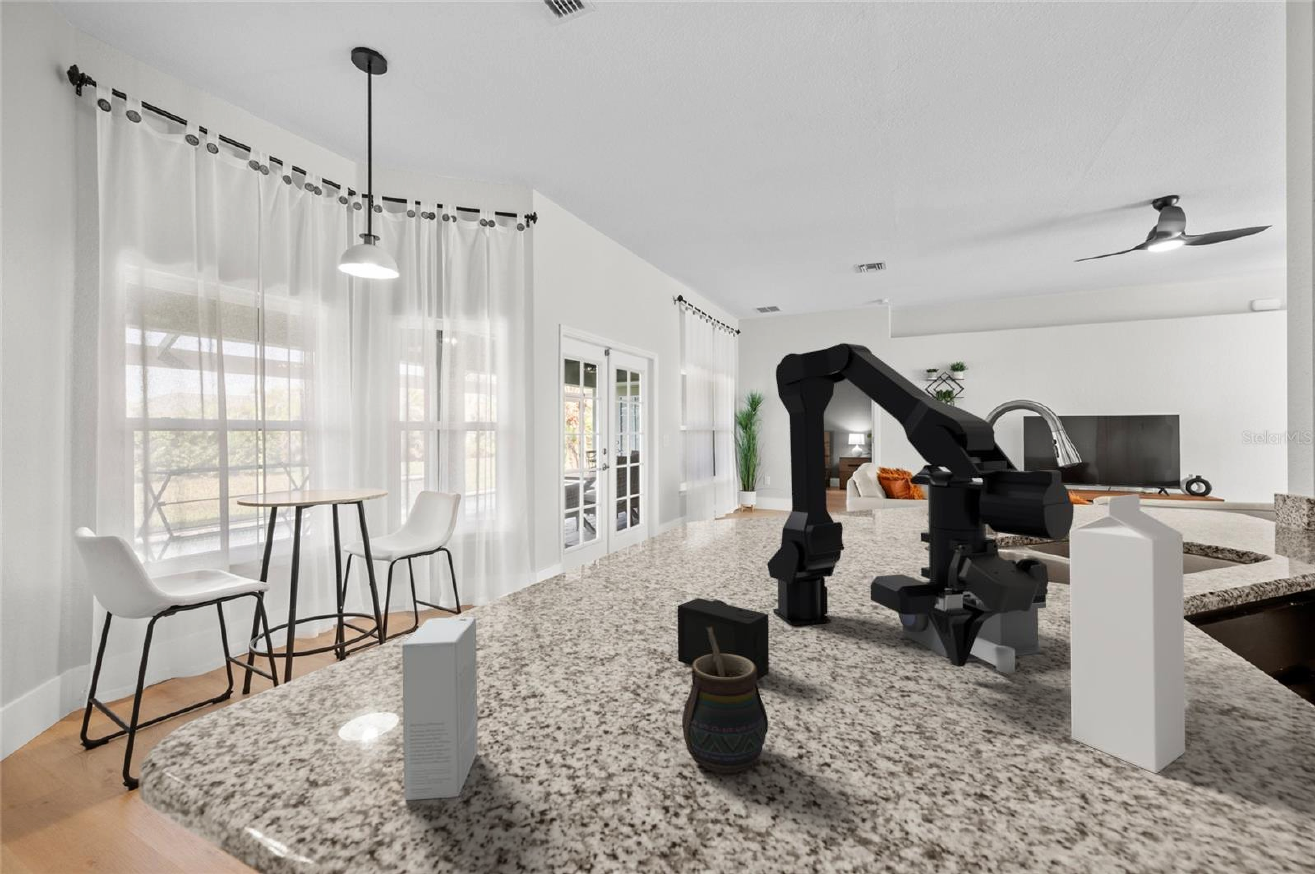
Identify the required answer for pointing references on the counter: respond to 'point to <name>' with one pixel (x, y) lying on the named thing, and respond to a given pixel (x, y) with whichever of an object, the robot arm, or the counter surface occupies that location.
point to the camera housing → (1015, 631)
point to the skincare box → (439, 707)
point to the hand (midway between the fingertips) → (958, 665)
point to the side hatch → (994, 646)
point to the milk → (1128, 636)
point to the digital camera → (723, 632)
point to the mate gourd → (724, 712)
